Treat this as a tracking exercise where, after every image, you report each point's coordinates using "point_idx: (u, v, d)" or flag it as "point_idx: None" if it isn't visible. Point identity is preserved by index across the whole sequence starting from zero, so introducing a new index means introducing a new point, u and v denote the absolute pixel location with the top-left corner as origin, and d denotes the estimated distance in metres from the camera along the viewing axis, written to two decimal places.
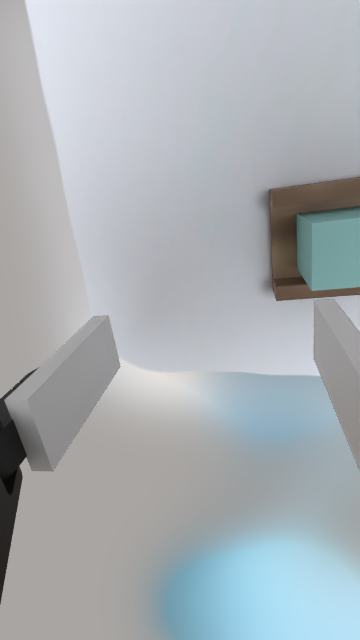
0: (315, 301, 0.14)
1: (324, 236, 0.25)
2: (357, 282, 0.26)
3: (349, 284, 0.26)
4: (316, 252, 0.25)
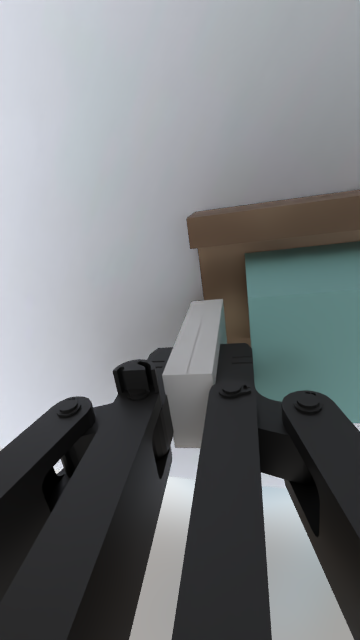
0: (207, 301, 0.15)
1: (276, 325, 0.11)
2: (348, 414, 0.12)
3: None
4: (260, 354, 0.12)
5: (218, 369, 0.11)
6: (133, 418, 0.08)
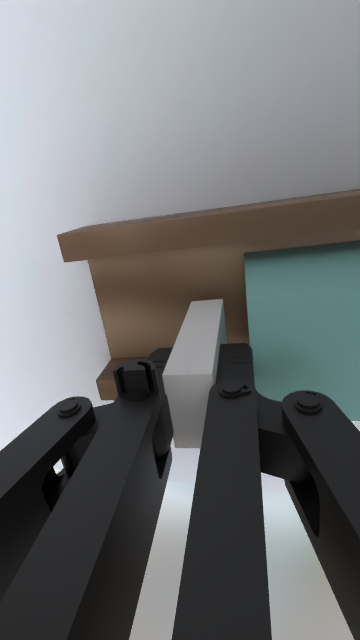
0: (207, 301, 0.15)
1: (274, 323, 0.12)
2: (345, 412, 0.12)
3: None
4: (258, 352, 0.12)
5: (218, 369, 0.11)
6: (133, 418, 0.08)
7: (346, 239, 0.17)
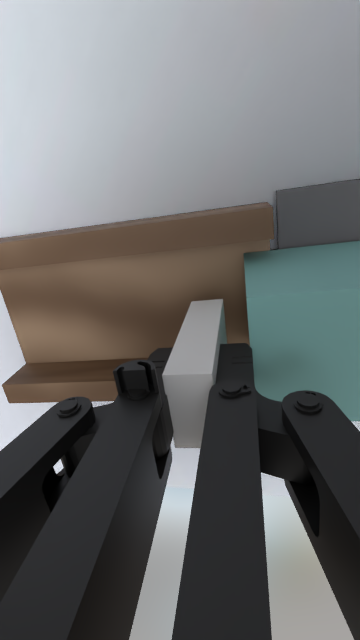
0: (207, 301, 0.15)
1: (274, 324, 0.12)
2: (345, 412, 0.12)
3: None
4: (258, 353, 0.12)
5: (218, 369, 0.11)
6: (133, 418, 0.08)
7: (221, 252, 0.19)
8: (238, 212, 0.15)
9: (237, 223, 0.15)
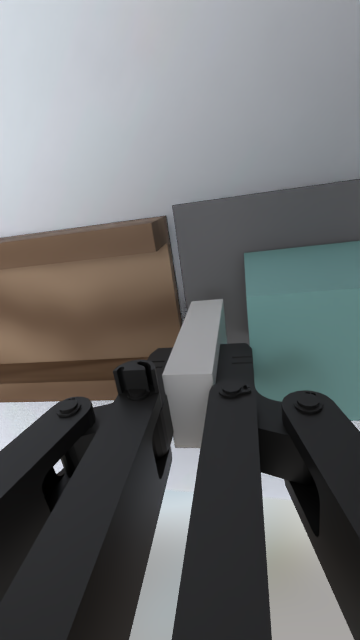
0: (207, 301, 0.15)
1: (274, 323, 0.12)
2: (345, 412, 0.12)
3: None
4: (258, 353, 0.12)
5: (218, 369, 0.11)
6: (133, 418, 0.08)
7: (126, 263, 0.20)
8: (121, 227, 0.16)
9: (121, 237, 0.16)
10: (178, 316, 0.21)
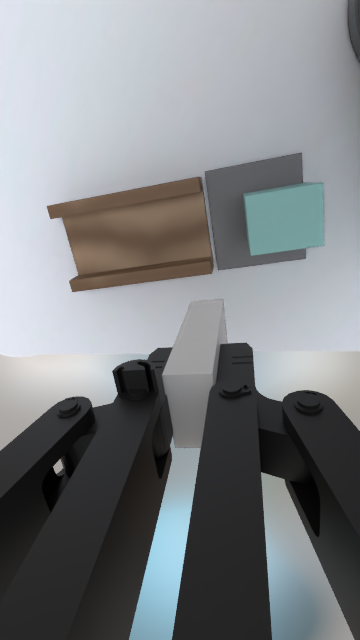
0: (207, 301, 0.15)
1: (256, 207, 0.29)
2: (287, 246, 0.30)
3: (281, 248, 0.30)
4: (250, 221, 0.30)
5: (218, 369, 0.11)
6: (133, 418, 0.08)
7: (180, 203, 0.37)
8: (183, 180, 0.34)
9: (183, 185, 0.34)
10: (208, 233, 0.38)
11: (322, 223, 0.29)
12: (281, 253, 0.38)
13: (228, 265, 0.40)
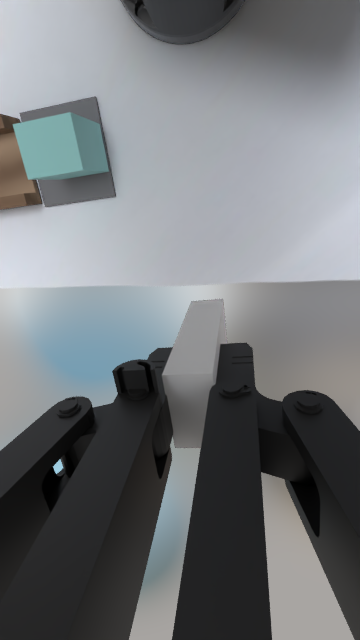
0: (207, 301, 0.15)
1: (23, 134, 0.34)
2: (55, 170, 0.35)
3: (50, 172, 0.35)
4: (21, 147, 0.35)
5: (218, 369, 0.11)
6: (133, 418, 0.08)
7: (2, 142, 0.42)
8: None
9: None
10: None
11: (77, 149, 0.34)
12: (94, 191, 0.43)
13: (53, 202, 0.45)
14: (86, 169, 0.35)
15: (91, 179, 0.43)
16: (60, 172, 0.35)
